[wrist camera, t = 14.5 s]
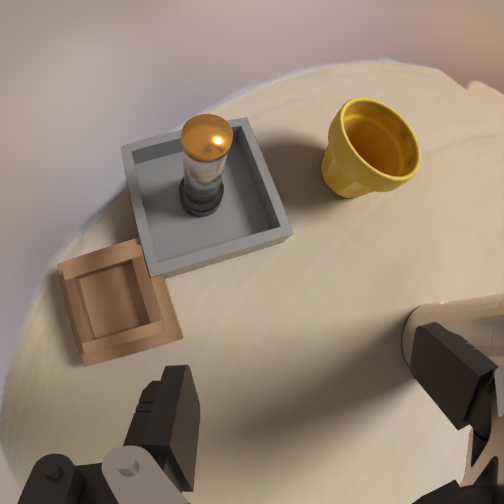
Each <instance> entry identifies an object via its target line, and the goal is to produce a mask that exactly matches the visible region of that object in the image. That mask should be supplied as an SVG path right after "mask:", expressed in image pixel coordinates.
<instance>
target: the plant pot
mask: <svg viewBox="0 0 504 504" xmlns="http://www.w3.org/2000/svg"><path fill="white" fill-rule="evenodd" d="M328 142H329V144H328V147H327V150H326V152H325V155H324V158H323V160H322V164H321V172H322V176H323V178H324V181H325V182H326V184H327V185H328V187H329V188H330V189H331V190H332V191H334V192H335V193H336V194H338V195H340V196H342V197H345V198H356V197H359V196H362V195H365V194H368V193H371V192H374V191H376V192H388V191H392V190H394V189H396V188H398V187H399V186H401V185H403V184H404V183H406V182H407V181H409V180H410V179H411V178H412V177H414V176H415V174H416V173H417V171H418V169H419V167H420V162H421V153H420V147H419V144H418V141H417V139H416V136H415V134H414V133H413V131H412V129H411V128H410V126H409V125H408V123H407V122H406V121H405V120H404V119H403V118H402V117H401V116H400V115H399V114H398V113H397V112H396V111H395V110H393V109H392V108H391V107H389V106H388V105H386V104H384V103H382V102H380V101H377V100H375V99H371V98H365V97H359V98H354V99H351V100H349V101H347V102H346V103H345V104H344V105H343V106H342V108H341V109H340V110H339V112H338V113H337V115H336V116H335V118H334V119H333V121H332V123H331V125H330V128H329V132H328Z"/></svg>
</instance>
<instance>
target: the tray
mask: <svg viewBox="0 0 504 504" xmlns="http://www.w3.org/2000/svg"><path fill="white" fill-rule="evenodd" d="M227 122H228V123H229V125H230V126H231V128H232V131H233V140H232V144H231V148H230V150H229V152H228V154H227V158H226V162H225V167H224V171H223V175H222V179H221V180H222V182H223V185H224V193H223V197H222V201H221V204H220V206H219V208H218V209H217V211H216V212H215V213H213V214H212V215H210V216H207V217H195V216H192V215H190V214H188V213H187V212H186V211H185V210H184V209H183V207H182V205H181V202H180V194H179V186H180V182H181V180H182V178H183V177H184V170H183V148H182V144H181V132H182V130H180V131H175V132H171V133H167V134H163V135H159V136H155V137H152V138H148V139H145V140H141V141H137V142H134V143H131V144H127V145H124V146H121V151H122V157H123V162H124V168H125V173H126V178H127V183H128V188H129V193H130V198H131V202H132V207H133V211H134V215H135V220H136V224H137V228H138V232H139V236H140V240H141V244H142V248H143V251H144V255H145V259H146V262H147V266H148V270H149V273H150V277H151V278H153V277H156V276H159V275H162V276H163V277H164V279H166V278H169V277H172V276H175V275H179V274H182V273H185V272H188V271H192V270H195V269H198V268H201V267H204V266H208V265H211V264H214V263H217V262H221V261H224V260H227V259H230V258H233V257H237V256H240V255H243V254H246V253H250V252H253V251H256V250H259V249H263V248H266V247H269V246H272V245H275V244H279V243H282V242H284V241H285V240H286V239H287V238H289V237H290V236H291V235H292V234H294V233H293V231H292V228H291V225H290V223H289V220H288V217H287V215H286V212H285V210H284V207H283V204H282V202H281V199H280V197H279V194H278V192H277V189H276V187H275V184H274V182H273V179H272V177H271V174H270V172H269V169H268V167H267V164H266V162H265V159H264V157H263V154H262V152H261V150H260V147H259V145H258V142H257V140H256V138H255V135H254V133H253V130H252V128H251V126H250V123H249V121H248V119H247V117H246V118H240V119H234V120H228V121H227Z"/></svg>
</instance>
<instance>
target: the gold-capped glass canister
mask: <svg viewBox="0 0 504 504" xmlns="http://www.w3.org/2000/svg"><path fill="white" fill-rule="evenodd" d="M232 140H233V131H232V128H231V126H230V125H229V123H228V122H227V121H226V120H224V119H223V118H221V117H219V116H216V115H212V114H202V115H198V116H195V117H193V118H191V119H190V120H188V121H187V122H186V124H185V125H184V126H183V129H182V132H181V144H182V148H183V170H184V177H183V178H182V180H181V182H180V186H179V194H180V202H181V205H182V207H183V209H184V210H185V211H186V212H187V213H188V214H190V215H192V216H195V217H207V216H210V215H212V214H213V213H215V212H216V211H217V209H218V208H219V206H220V204H221V201H222V197H223V193H224V185H223V182H222V180H221V179H222V175H223V171H224V167H225V162H226V158H227V154H228V152H229V150H230V148H231V144H232Z"/></svg>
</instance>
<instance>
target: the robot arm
mask: <svg viewBox="0 0 504 504" xmlns="http://www.w3.org/2000/svg"><path fill="white" fill-rule="evenodd" d="M402 348H403V354H404V357H405V360H406V362H407V363H408V365H409V366H410V369H411V373H412V375H413V377H414V378H415V379H416V380H417V381H418V383H419V384H420V385H421V386H422V387H423V389H424V390H425V391H426V392H427V393H428V395H429V396H430V397H431V398H432V399H433V401H434V402H435V403H436V404H437V405H438V407H439V408H440V409H441V410H442V412H443V413H444V414H445V415H446V416H447V418H448V419H449V420H450V421H451V423H452V424H453V425H454V426H455V428H456V429H457V430H460V429H462V428H464V427H465V426H467V425H469V424H470V425H471V426H472V428H471V430H470V432H469V440H468V451H467V460H466V468H465V474H464V478H463V480H462V482H461V485H460V486H459V484H458V483H457V481H456V480H453V481H451V482H450V483H448V484H446V485H444V486H442V487H440V488H438V489H436V490H434V491H432V492H430V493H428V494H426V495H424V496H422V497H420V498H419V499H418V500H416V501H415V502H414V503H412V504H504V294H499V295H493V296H486V297H480V298H473V299H466V300H458V301H451V302H442V303H434V304H426V305H422V306H420V307H418V308H417V309H416V310H415V311H414V312H413V313H412V314H411V315H410V317H409V318H408V321H407V323H406V325H405V328H404V332H403V339H402ZM199 423H200V404H199V399H198V395H197V392H196V388H195V385H194V381H193V377H192V374H191V370H190V367H189V366H188V365H176V366H166V367H165V369H164V372H163V375H162V378H161V381H152V382H151V383H150V384H149V385H148V386H147V387H146V388H145V389H144V390H143V391H142V394H141V397H140V400H139V404H138V405H137V408H136V413H134V416H133V419H132V422H131V424H130V427H129V430H128V433H127V436H126V439H125V441H124V444H123V446H122V447H119V448H116V449H114V450H112V451H111V452H110V453H108V454H107V456H106V457H105V458H104V460H103V462H102V463H98V464H89V465H79V466H75V465H74V464H73V462H72V461H71V460H70V459H69V458H68V457H66V456H64V455H62V454H49V455H46V456H44V457H42V458H41V459H39V460H38V461H37V462H36V464H35V465H34V467H33V469H32V471H31V473H30V476H29V478H28V480H27V482H26V485H25V487H24V489H23V492H22V494H21V496H20V499H19V501H18V504H190V503H189V502H188V501H187V500H186V499H185V497H184V496H183V495H182V491H184V492H193V487H194V475H195V464H196V453H197V443H198V433H199Z"/></svg>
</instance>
